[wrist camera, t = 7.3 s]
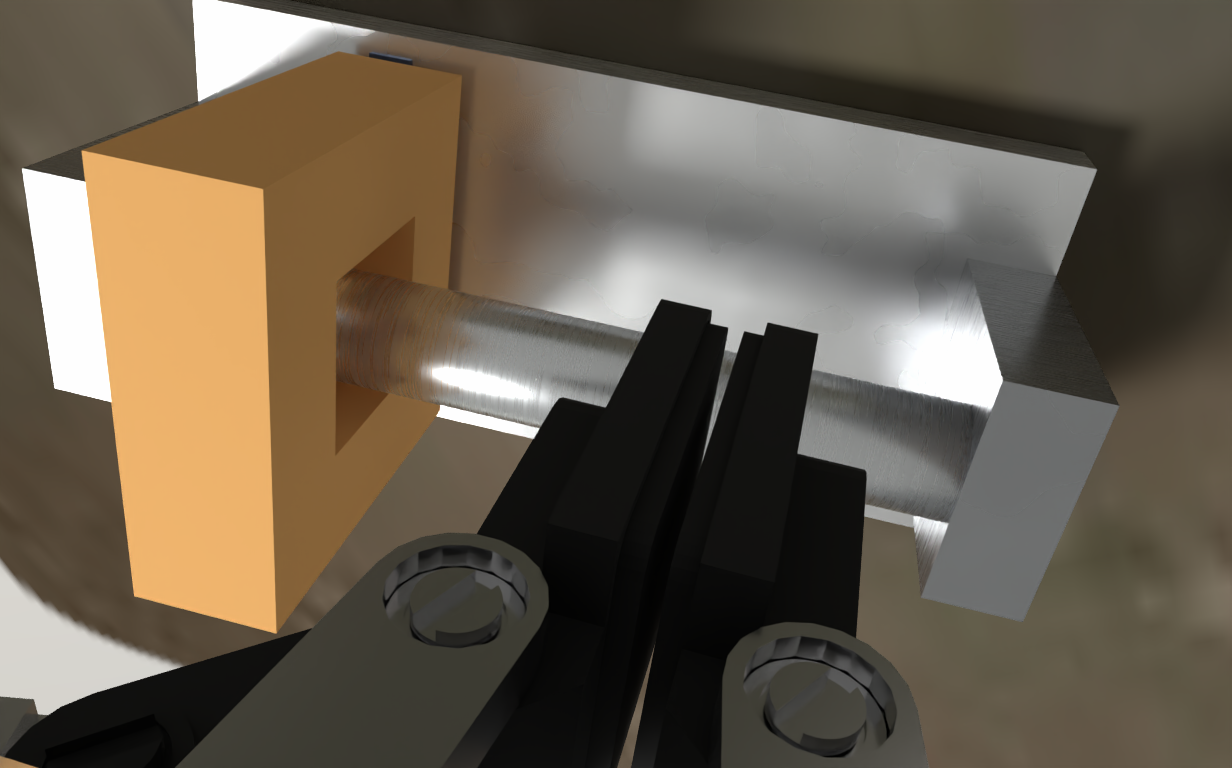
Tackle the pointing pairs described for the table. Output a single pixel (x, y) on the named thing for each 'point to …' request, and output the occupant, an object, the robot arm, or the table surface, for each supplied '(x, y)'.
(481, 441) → the table surface
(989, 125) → the table surface
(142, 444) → the collar
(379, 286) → the pipe stand
